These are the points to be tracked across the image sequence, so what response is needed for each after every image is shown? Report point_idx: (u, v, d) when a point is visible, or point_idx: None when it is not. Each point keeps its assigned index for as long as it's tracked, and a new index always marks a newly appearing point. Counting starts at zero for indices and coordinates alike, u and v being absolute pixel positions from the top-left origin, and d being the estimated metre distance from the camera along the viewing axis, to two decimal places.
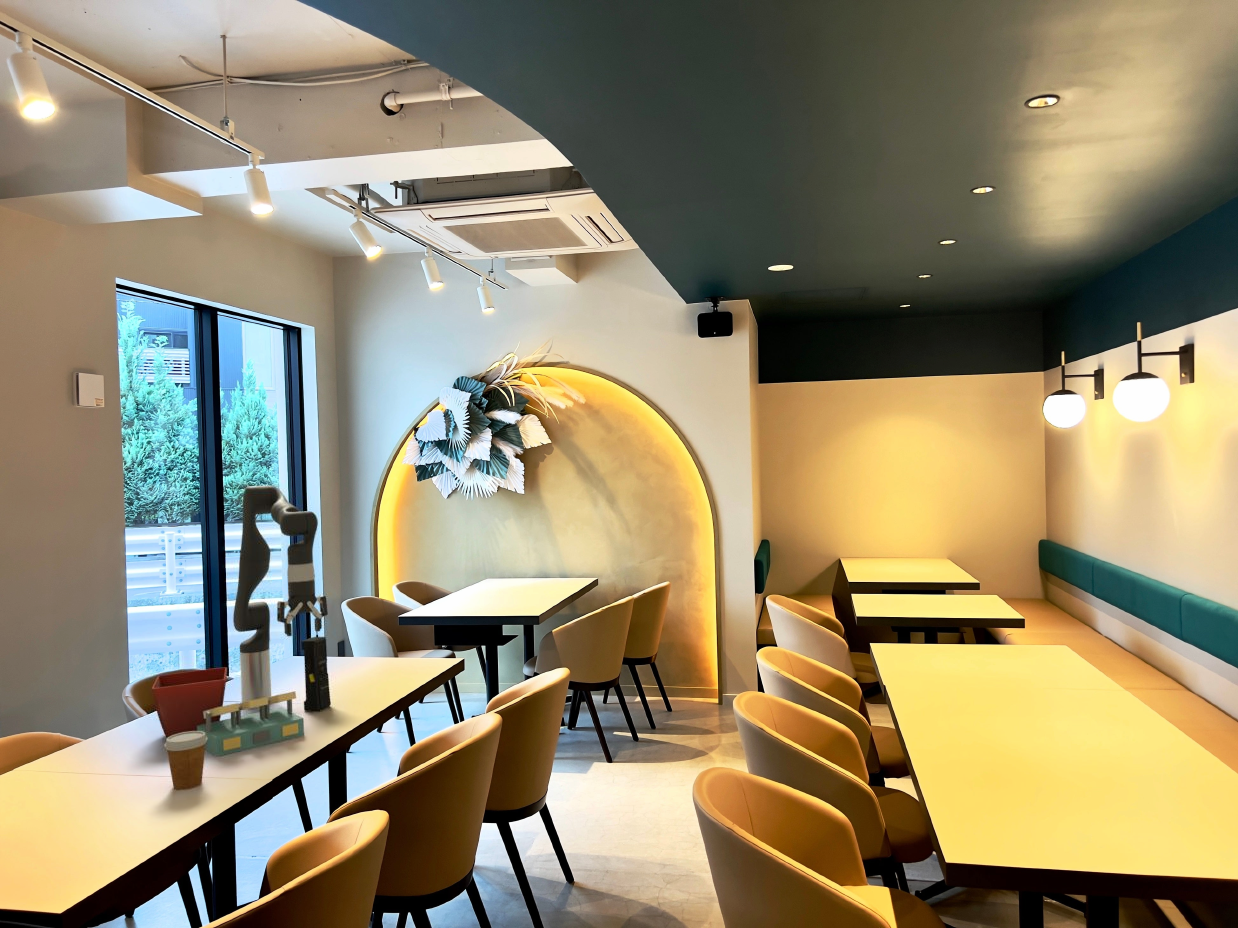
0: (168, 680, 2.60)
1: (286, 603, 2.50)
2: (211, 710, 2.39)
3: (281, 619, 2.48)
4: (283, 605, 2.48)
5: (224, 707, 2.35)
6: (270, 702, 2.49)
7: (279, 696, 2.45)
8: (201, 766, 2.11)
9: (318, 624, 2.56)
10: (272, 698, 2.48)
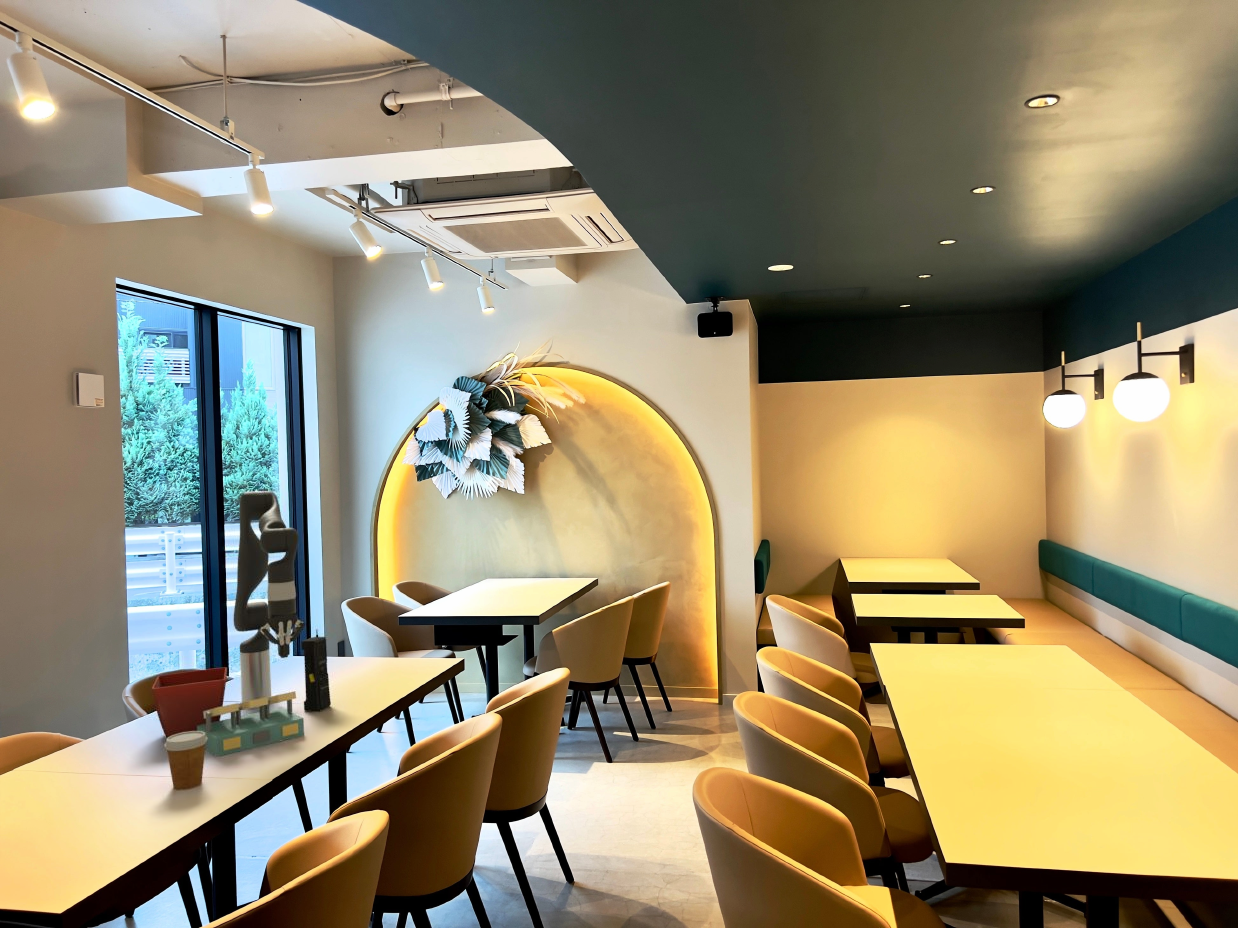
0: (167, 680, 2.60)
1: (267, 626, 2.44)
2: (211, 710, 2.39)
3: (274, 641, 2.44)
4: (266, 631, 2.43)
5: (224, 707, 2.35)
6: (270, 702, 2.49)
7: (279, 696, 2.45)
8: (201, 766, 2.11)
9: (286, 650, 2.47)
10: (272, 698, 2.48)
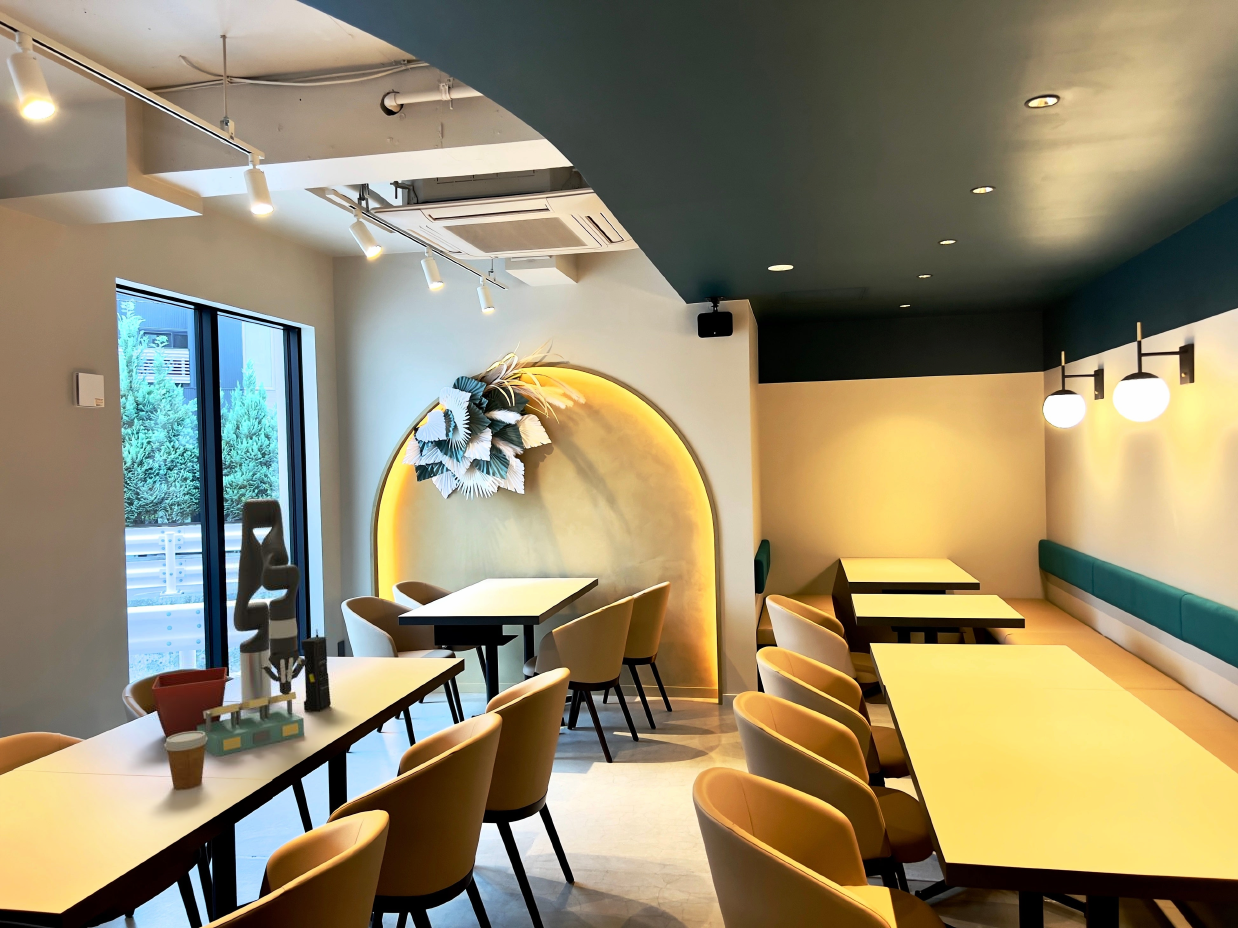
0: (167, 680, 2.60)
1: (269, 664, 2.44)
2: (211, 710, 2.39)
3: (276, 678, 2.44)
4: (268, 668, 2.43)
5: (224, 707, 2.35)
6: (270, 702, 2.49)
7: (279, 696, 2.45)
8: (201, 766, 2.11)
9: (287, 687, 2.46)
10: (272, 698, 2.48)
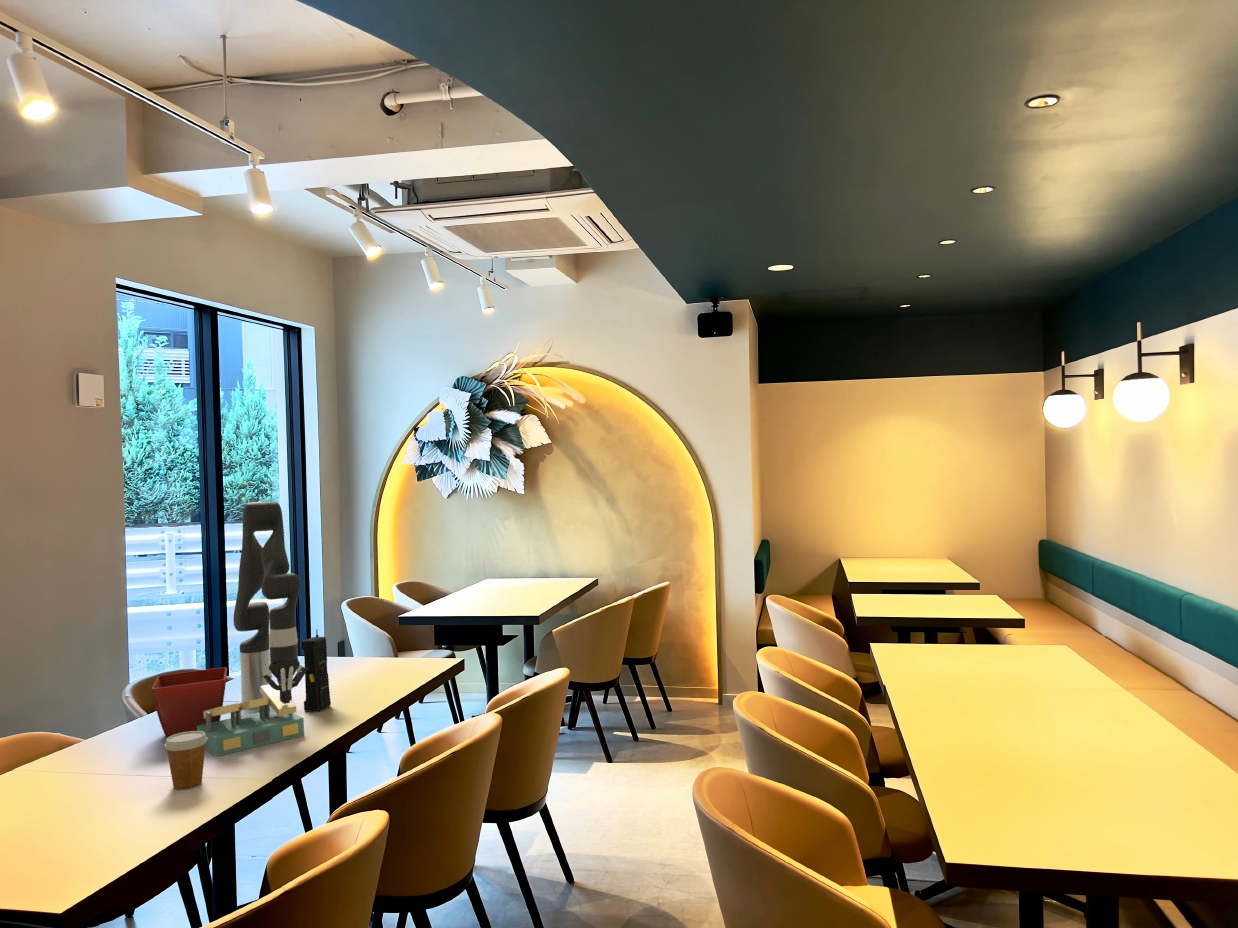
0: (167, 680, 2.60)
1: (269, 673, 2.44)
2: (211, 710, 2.39)
3: (276, 687, 2.44)
4: (268, 677, 2.43)
5: (224, 707, 2.35)
6: (270, 703, 2.49)
7: (280, 711, 2.45)
8: (201, 766, 2.11)
9: (288, 696, 2.46)
10: (272, 703, 2.48)
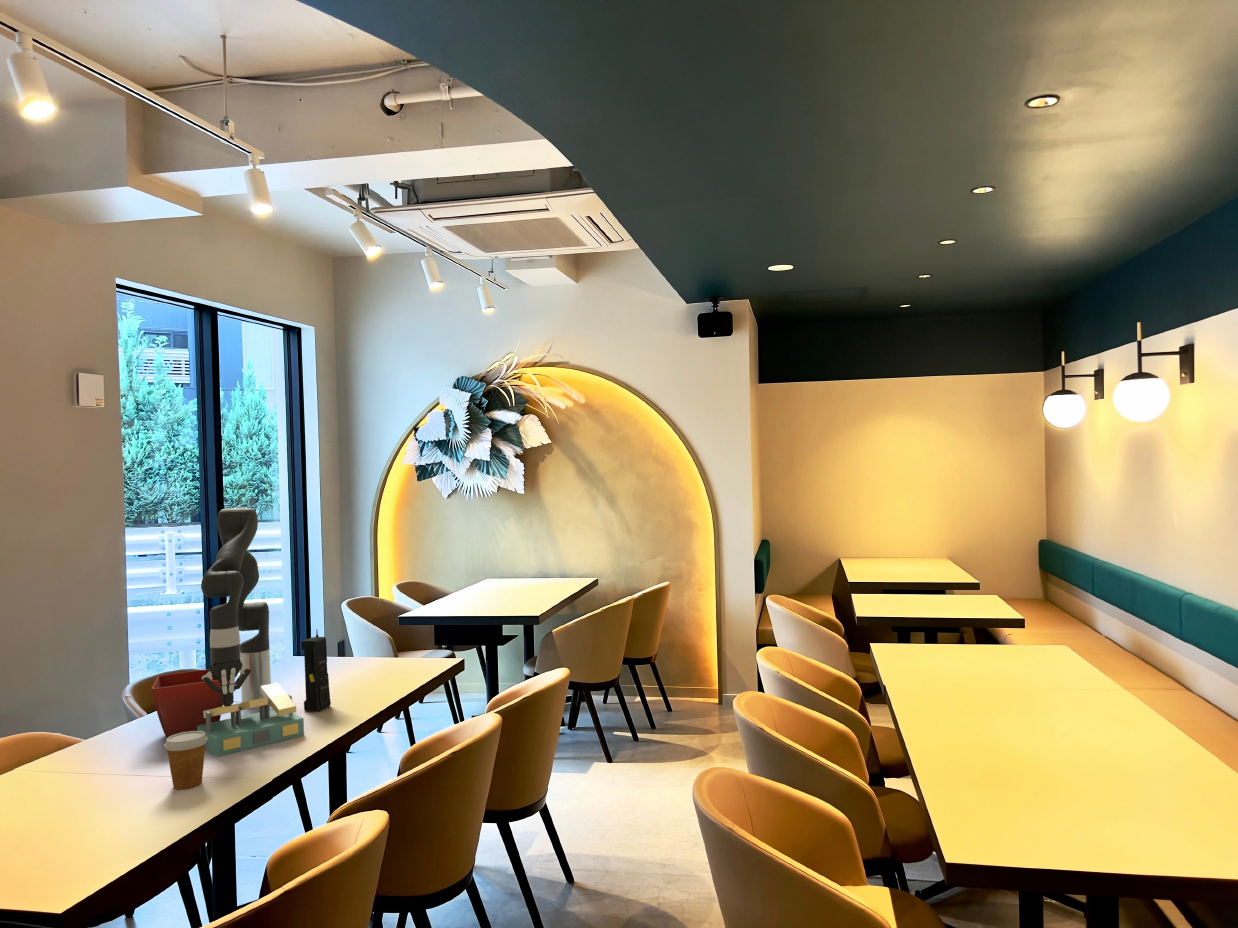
0: (167, 680, 2.60)
1: (209, 674, 2.33)
2: (211, 710, 2.39)
3: (217, 689, 2.33)
4: (208, 679, 2.32)
5: (224, 707, 2.35)
6: (270, 703, 2.49)
7: (280, 711, 2.45)
8: (201, 766, 2.11)
9: (229, 699, 2.36)
10: (272, 703, 2.48)
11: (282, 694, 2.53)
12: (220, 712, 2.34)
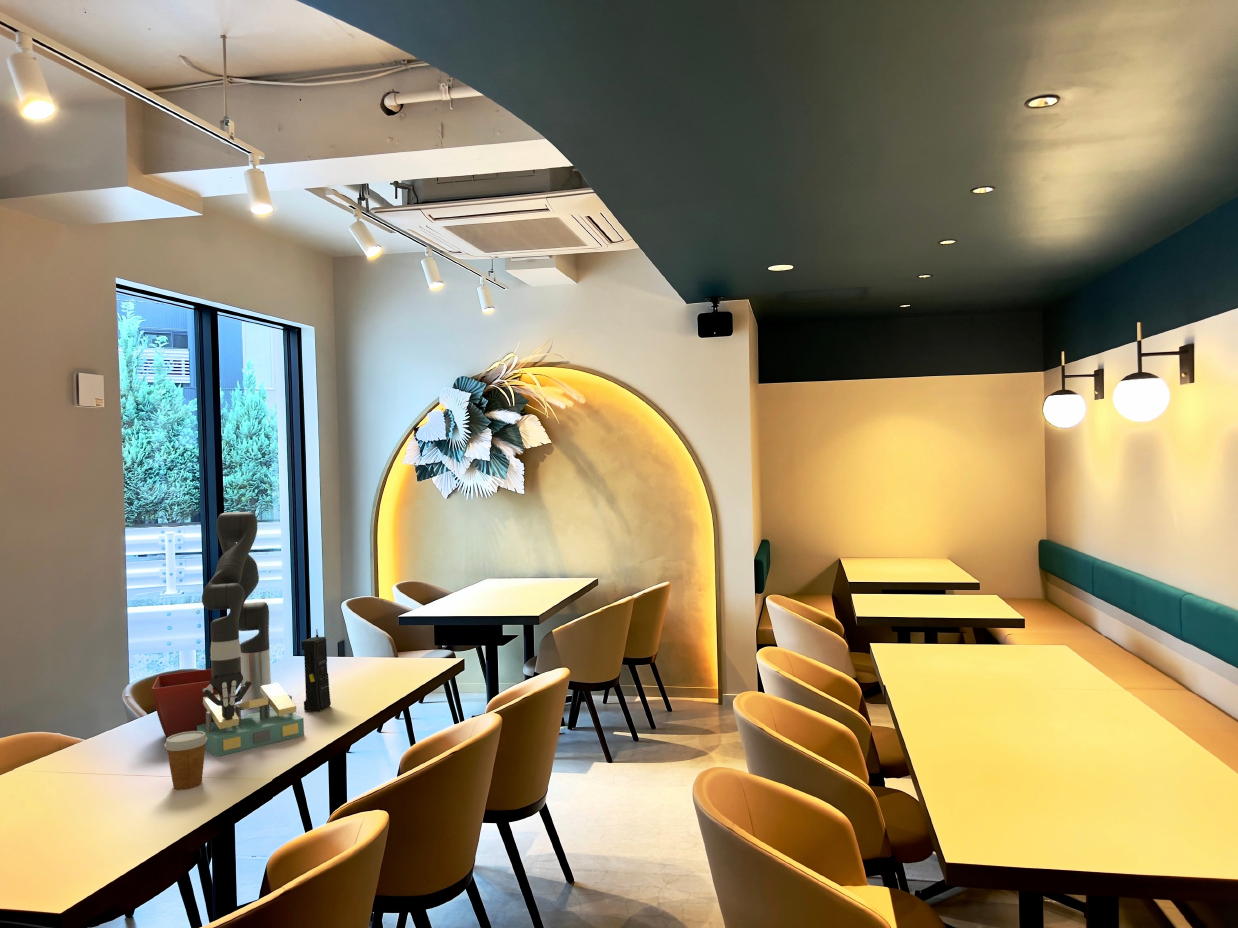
0: (167, 680, 2.60)
1: (210, 687, 2.33)
2: (211, 711, 2.39)
3: (218, 702, 2.33)
4: (209, 692, 2.32)
5: (225, 722, 2.35)
6: (270, 703, 2.49)
7: (280, 711, 2.45)
8: (201, 766, 2.11)
9: (230, 711, 2.36)
10: (272, 703, 2.48)
11: (282, 694, 2.53)
12: (220, 727, 2.34)
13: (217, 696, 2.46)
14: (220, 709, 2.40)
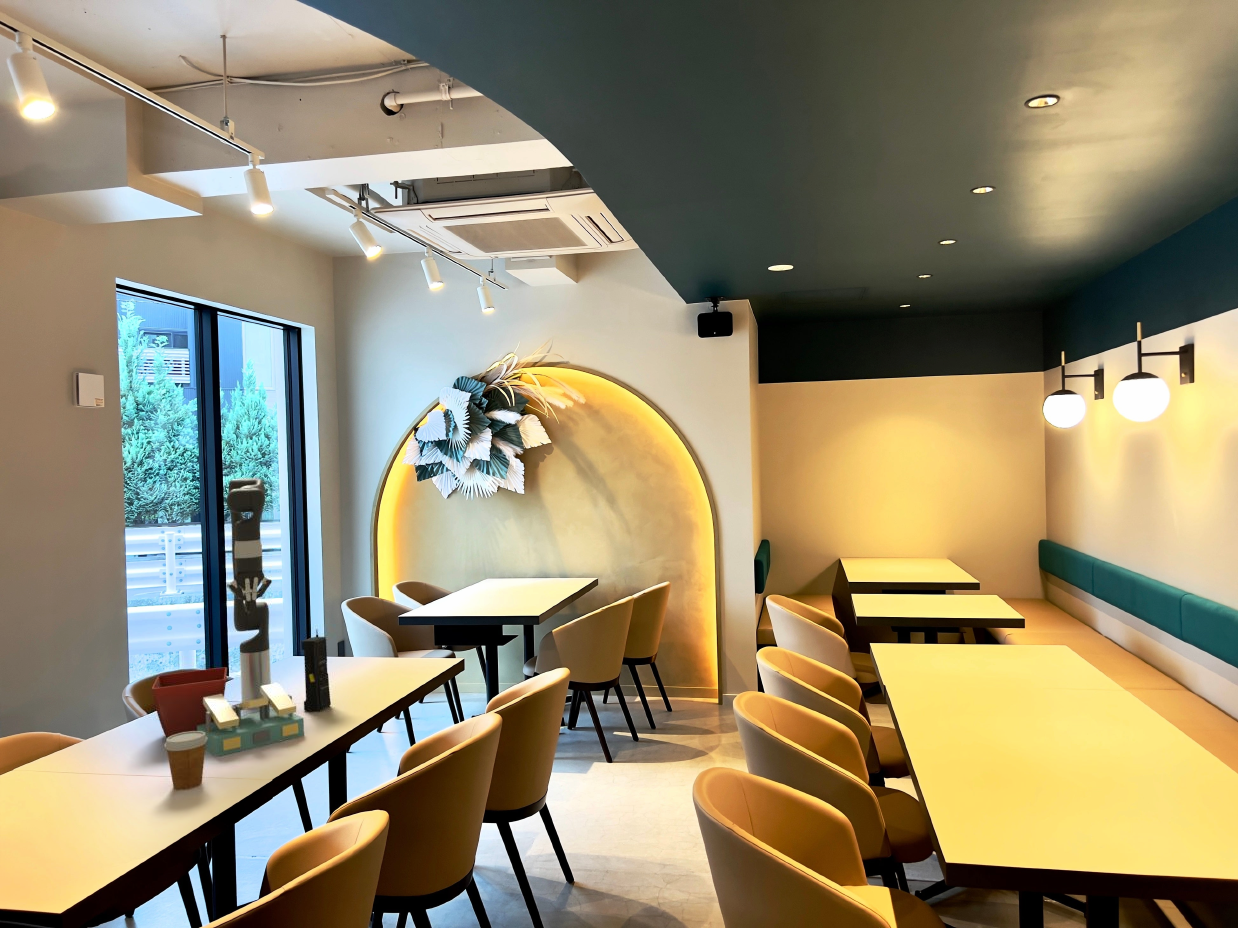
0: (167, 680, 2.60)
1: (234, 582, 2.54)
2: (211, 711, 2.39)
3: (241, 596, 2.54)
4: (233, 587, 2.53)
5: (225, 722, 2.35)
6: (270, 703, 2.49)
7: (280, 711, 2.45)
8: (201, 766, 2.11)
9: (252, 605, 2.56)
10: (272, 703, 2.48)
11: (282, 694, 2.53)
12: (220, 727, 2.34)
13: (217, 696, 2.46)
14: (220, 709, 2.40)
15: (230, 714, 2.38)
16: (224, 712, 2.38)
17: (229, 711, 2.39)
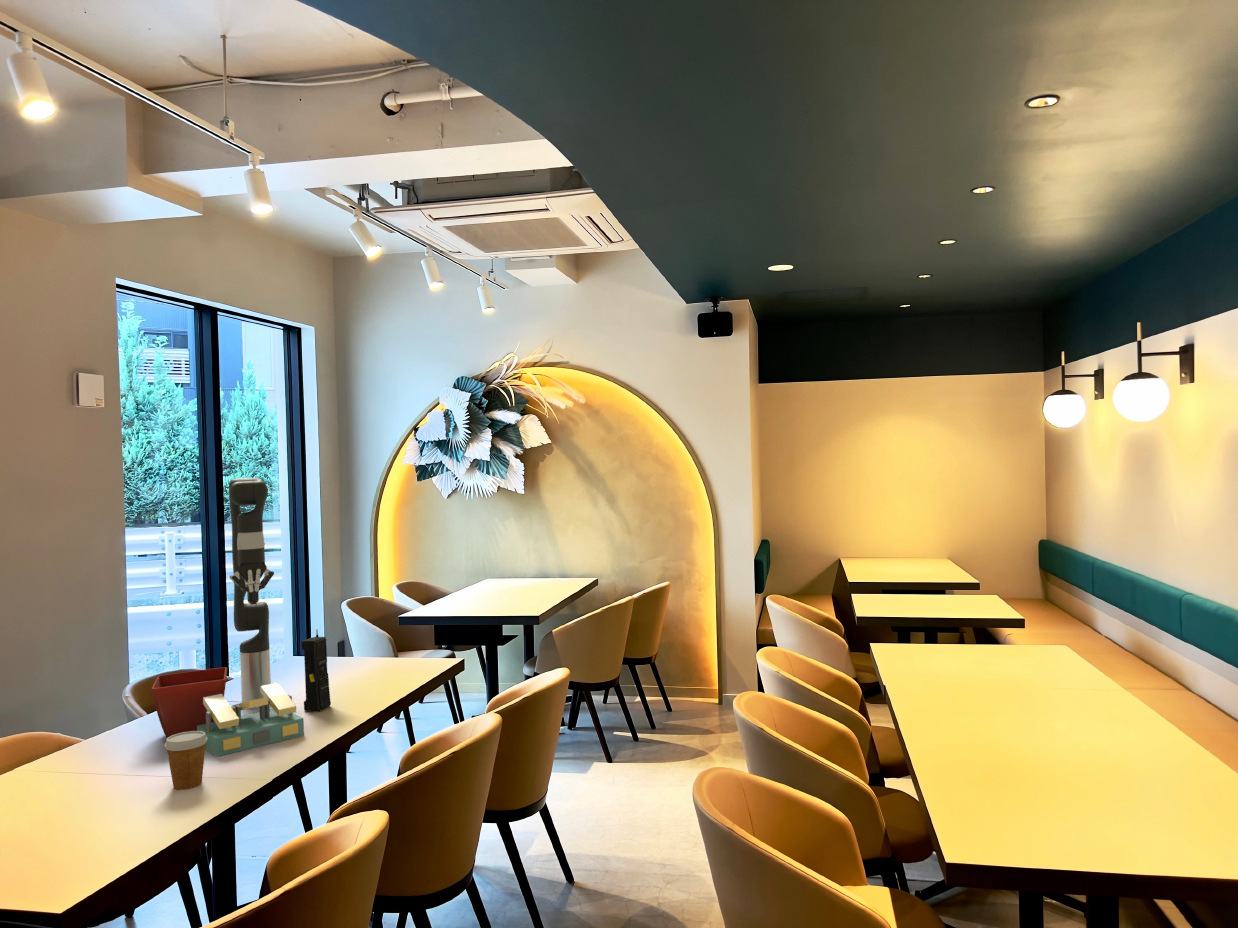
0: (167, 680, 2.60)
1: (237, 574, 2.56)
2: (211, 711, 2.39)
3: (244, 588, 2.56)
4: (236, 578, 2.55)
5: (225, 722, 2.35)
6: (270, 703, 2.49)
7: (280, 711, 2.45)
8: (201, 766, 2.11)
9: (255, 597, 2.59)
10: (272, 703, 2.48)
11: (282, 694, 2.53)
12: (220, 727, 2.34)
13: (217, 696, 2.46)
14: (220, 709, 2.40)
15: (230, 714, 2.38)
16: (224, 712, 2.38)
17: (229, 711, 2.39)
